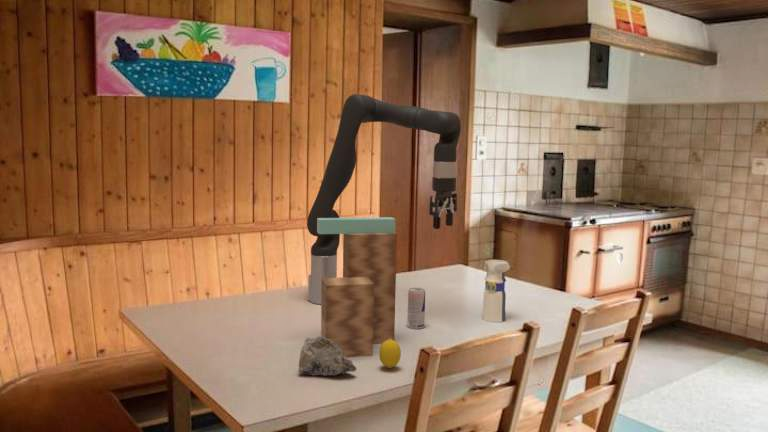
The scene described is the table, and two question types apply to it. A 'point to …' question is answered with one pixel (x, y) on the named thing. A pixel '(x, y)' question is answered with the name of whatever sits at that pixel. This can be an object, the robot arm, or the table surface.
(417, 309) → the energy drink
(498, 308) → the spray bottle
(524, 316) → the table surface
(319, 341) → the mineral rock
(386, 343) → the lemon
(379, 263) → the tall stand
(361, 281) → the low stand
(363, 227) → the teal bar
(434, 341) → the table surface
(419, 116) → the robot arm
